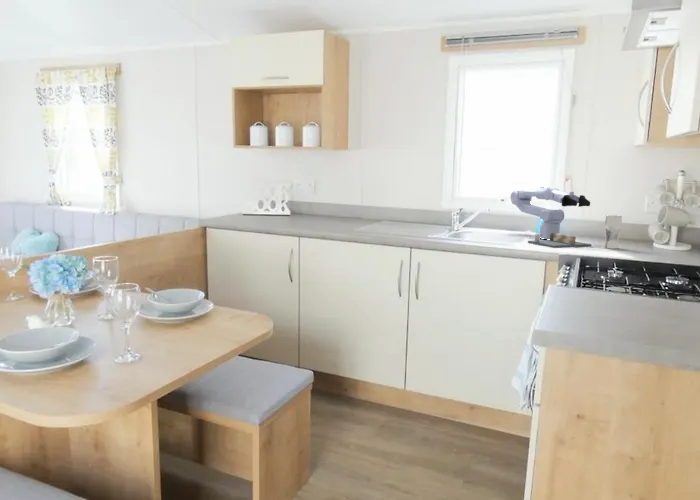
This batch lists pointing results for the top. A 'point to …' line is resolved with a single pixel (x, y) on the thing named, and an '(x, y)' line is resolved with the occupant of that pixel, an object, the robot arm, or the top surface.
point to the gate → (562, 238)
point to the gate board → (556, 243)
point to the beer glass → (612, 231)
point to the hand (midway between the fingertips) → (583, 203)
